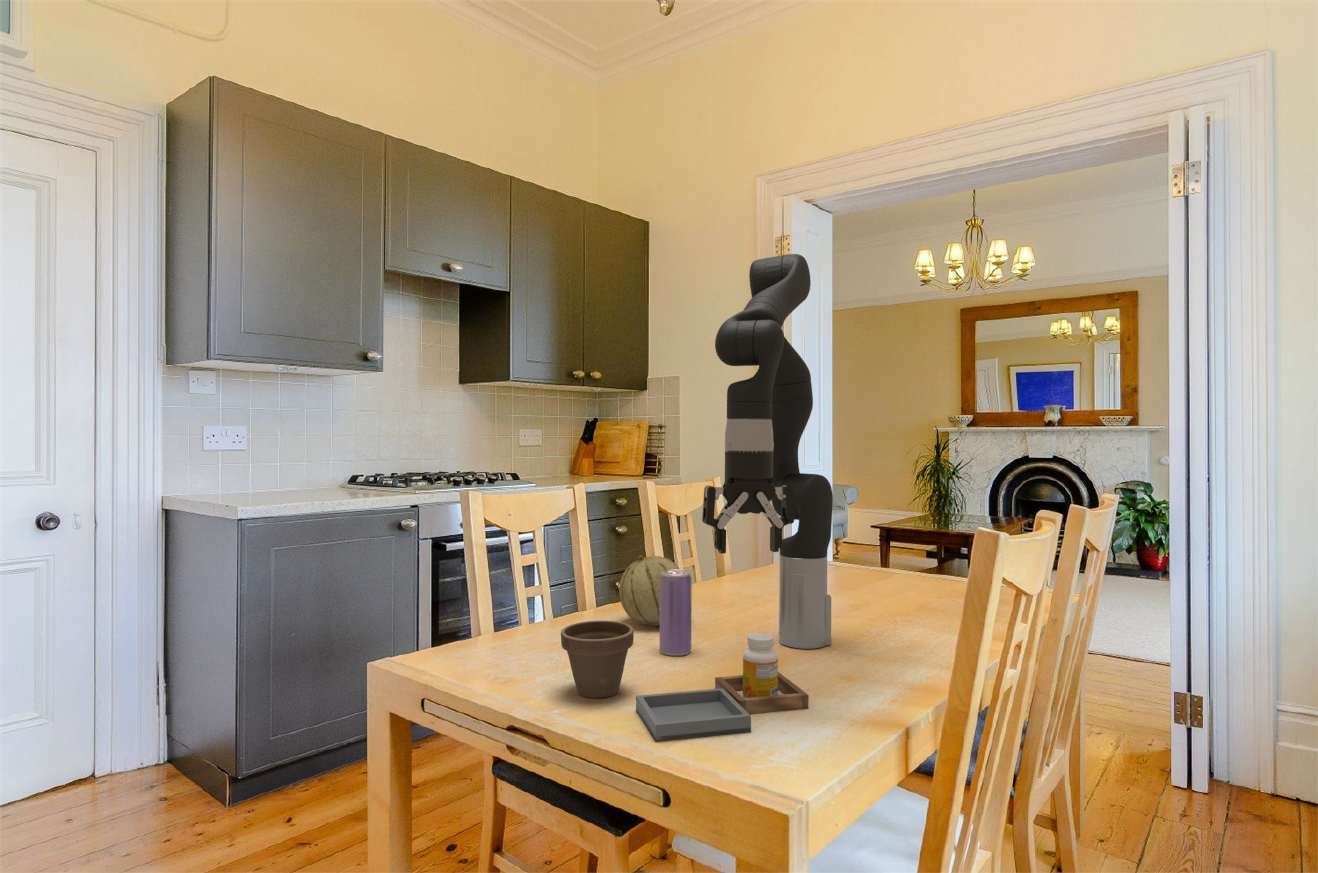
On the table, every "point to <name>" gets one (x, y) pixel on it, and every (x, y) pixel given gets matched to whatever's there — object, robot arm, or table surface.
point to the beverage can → (675, 612)
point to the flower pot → (597, 655)
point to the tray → (692, 714)
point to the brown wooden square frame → (788, 701)
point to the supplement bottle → (760, 667)
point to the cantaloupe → (644, 588)
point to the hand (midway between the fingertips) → (748, 552)
